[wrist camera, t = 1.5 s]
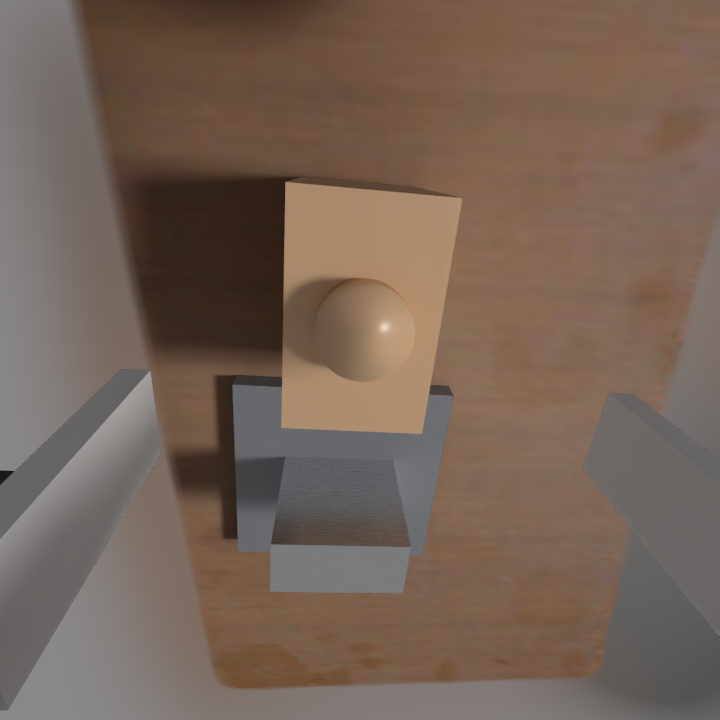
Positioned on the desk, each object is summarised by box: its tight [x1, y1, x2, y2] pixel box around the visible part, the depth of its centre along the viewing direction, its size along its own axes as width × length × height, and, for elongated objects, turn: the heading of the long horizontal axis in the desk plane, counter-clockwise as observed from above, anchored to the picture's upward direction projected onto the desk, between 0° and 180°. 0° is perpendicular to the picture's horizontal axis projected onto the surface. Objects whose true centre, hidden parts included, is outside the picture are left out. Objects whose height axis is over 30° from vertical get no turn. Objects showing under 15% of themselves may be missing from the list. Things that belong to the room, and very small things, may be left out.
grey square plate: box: [232, 375, 454, 593], centre depth 31 cm, size 16×16×10 cm
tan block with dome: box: [281, 177, 462, 434], centre depth 24 cm, size 12×7×12 cm, turn 175°
